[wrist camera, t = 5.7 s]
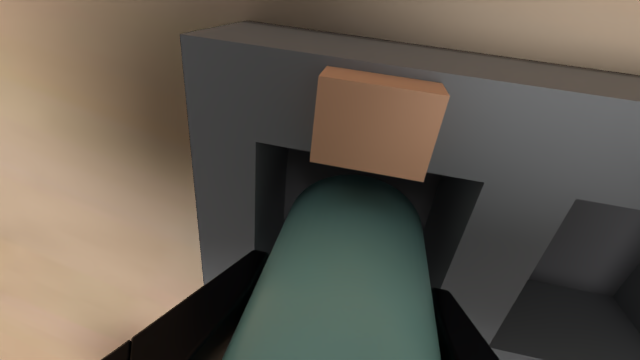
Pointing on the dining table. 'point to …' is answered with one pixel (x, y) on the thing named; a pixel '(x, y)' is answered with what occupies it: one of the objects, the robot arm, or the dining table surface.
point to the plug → (343, 280)
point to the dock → (434, 170)
